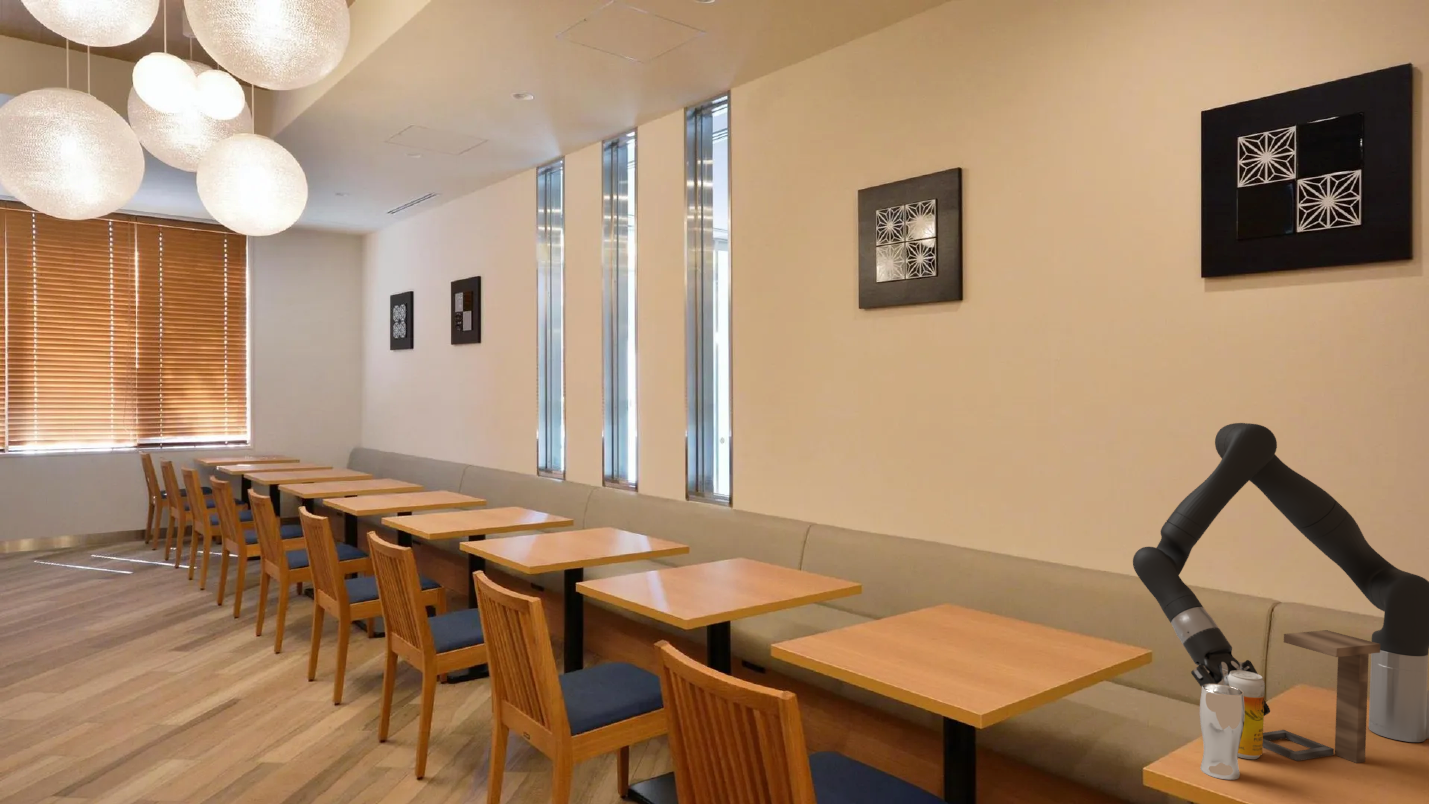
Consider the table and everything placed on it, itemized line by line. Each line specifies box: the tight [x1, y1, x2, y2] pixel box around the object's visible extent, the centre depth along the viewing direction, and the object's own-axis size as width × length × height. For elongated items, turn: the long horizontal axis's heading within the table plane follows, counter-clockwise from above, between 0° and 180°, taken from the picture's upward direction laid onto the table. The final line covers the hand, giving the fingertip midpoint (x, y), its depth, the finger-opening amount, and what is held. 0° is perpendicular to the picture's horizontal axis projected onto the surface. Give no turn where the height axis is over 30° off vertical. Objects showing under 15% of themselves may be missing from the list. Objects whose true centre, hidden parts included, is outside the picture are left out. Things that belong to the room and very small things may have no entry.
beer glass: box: [1199, 684, 1245, 781], centre depth 158 cm, size 7×7×15 cm
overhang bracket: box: [1263, 629, 1380, 764], centre depth 169 cm, size 13×16×23 cm
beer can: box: [1228, 670, 1266, 760], centre depth 167 cm, size 6×6×15 cm
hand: (1253, 715), depth 166 cm, fingers closed on beer can, 6 cm apart
